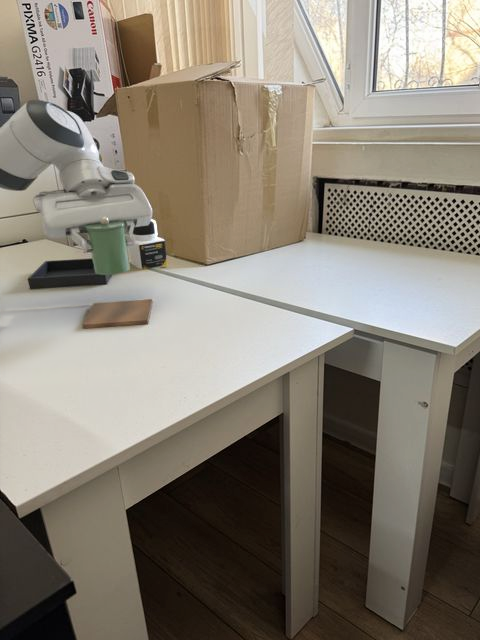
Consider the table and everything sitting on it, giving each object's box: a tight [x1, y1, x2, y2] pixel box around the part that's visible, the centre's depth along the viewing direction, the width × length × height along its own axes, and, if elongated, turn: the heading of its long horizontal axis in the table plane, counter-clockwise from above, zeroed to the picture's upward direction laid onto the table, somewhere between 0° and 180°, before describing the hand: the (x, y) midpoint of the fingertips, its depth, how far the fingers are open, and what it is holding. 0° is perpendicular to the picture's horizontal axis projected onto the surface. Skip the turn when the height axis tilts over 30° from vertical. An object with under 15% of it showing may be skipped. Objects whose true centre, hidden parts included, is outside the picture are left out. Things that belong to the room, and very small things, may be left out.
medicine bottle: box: [128, 218, 168, 270], centre depth 130 cm, size 7×7×12 cm
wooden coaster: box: [81, 298, 154, 329], centre depth 100 cm, size 12×12×1 cm
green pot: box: [85, 217, 131, 275], centre depth 95 cm, size 7×7×10 cm
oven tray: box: [27, 257, 112, 290], centre depth 123 cm, size 17×15×3 cm
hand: (109, 247), depth 94 cm, fingers closed on green pot, 6 cm apart
